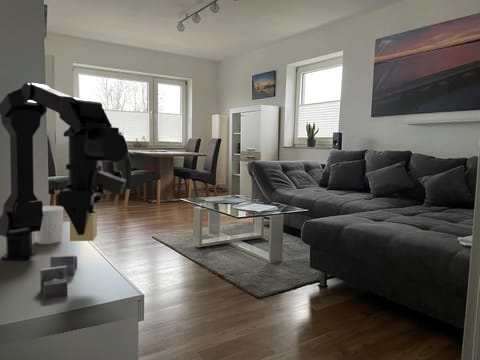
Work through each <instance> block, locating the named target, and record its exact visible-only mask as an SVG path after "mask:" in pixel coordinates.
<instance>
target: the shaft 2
mask: <svg viewBox="0 0 480 360" xmlns="http://www.w3.org/2000/svg"><path fill="white" fill-rule="evenodd" d="M49 258H50V261H49V262H50V267H49V268H51V267H59V266H67V277H68V276H74V275H75V274H76V273H75V271H76V270H77V268H78V256H77V255H75V254H70V255H68V254H67V255H66V254H65V255H50V257H49Z"/></svg>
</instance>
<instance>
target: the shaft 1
mask: <svg viewBox="0 0 480 360" xmlns="http://www.w3.org/2000/svg"><path fill="white" fill-rule="evenodd" d="M39 271H40V273H39V275H40V276H39V277H40V278H39V279H40V282H39V284H40V292H43V300H50V299H54V298H55V299H56V298H61V297H62V298H63V297H68V276H67V266H59V267H51V268H50V267H44V268H40V270H39Z"/></svg>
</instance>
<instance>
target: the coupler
mask: <svg viewBox="0 0 480 360" xmlns="http://www.w3.org/2000/svg"><path fill="white" fill-rule="evenodd" d="M97 235H98V211H97V210H93V211H88V216H87V222H86V227H85V232H84V235H78V233H77V231H76V229H75V228H74V226H73V224H72V222H71V220H70V219H69V241H70V242H93V241H94V240H95V239H96V238H97Z"/></svg>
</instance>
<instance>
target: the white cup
mask: <svg viewBox="0 0 480 360" xmlns="http://www.w3.org/2000/svg"><path fill="white" fill-rule="evenodd" d="M64 210H65V209H64V207H62V206H57V205H43V207H42V212H43V220H42V225H41V229H40V231H35V232H34V234H35V242H36V244H39V245H53V244H57V243H60V242H62V238H63V225H64Z"/></svg>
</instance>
